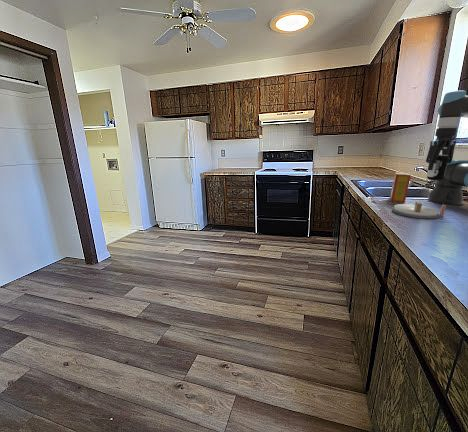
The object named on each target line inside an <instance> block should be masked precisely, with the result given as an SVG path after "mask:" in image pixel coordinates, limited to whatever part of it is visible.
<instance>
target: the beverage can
mask: <svg viewBox="0 0 468 432" xmlns="http://www.w3.org/2000/svg"><path fill="white" fill-rule="evenodd" d="M447 162H448V155H442V154H439V156H438V158H437V160H436V162H435V163H434V164H436V167H435V171H434V176H433V177H427V176H426V179H427V180H429V181H436V180H442V179H443V178H444V174H445V170H446V166H447Z"/></svg>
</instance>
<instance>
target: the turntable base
mask: <svg viewBox="0 0 468 432" xmlns="http://www.w3.org/2000/svg"><path fill="white" fill-rule="evenodd" d="M446 208H447V204H441V208H440V211H439V213H438V215H437V216H431V217H426V216H415V215H409V214H404V213H401V212H398V211H396V210H394V207H393V208H392V213H394V214H396V215H399V216H403V217H405V218H406V217H407V218H410V219H420V220H437V219H439V217H440V218H443V217H444V215H445V211H446Z"/></svg>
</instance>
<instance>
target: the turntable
mask: <svg viewBox="0 0 468 432" xmlns="http://www.w3.org/2000/svg"><path fill="white" fill-rule="evenodd" d="M393 208H394V210H396V211H398V212H401V213H404V214H409V215H415V216H426V217H431V216H437V215H438V214H439V213H440V211H439V210H438V209H436V208H433V207H429V206H425V205H423V204H422V202H421V201H419V200H415V204H411V203H398V204H395V205H394V207H393Z"/></svg>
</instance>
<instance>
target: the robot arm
mask: <svg viewBox="0 0 468 432" xmlns="http://www.w3.org/2000/svg"><path fill="white" fill-rule="evenodd" d="M437 114H438V117H439V118H438V121H437V128H436V129H435V134H434V136H435V137H436V139H435V140H431V141H430V143H429V144H430V145H429V149H428V152H427V156H426V159H425V162H426V163H427V164H428V167H427V173H426V178H427V177H433V176H434V171H435V167H436V164H434V163H435V162H436V160H437V158H438V156H439V155H448V162H447V166H446V170H445V174H444V178H443V179H442V180H435V185H434V187H433V189H432V190H431V192H430V194H429V195H428V197H427V201H429V202H432V203H436V204H441V205H452V206H453V205H454V206H457V205H459V206H461V205H463V204H464V203H463V202H464V197H463V187H465V188H468V159H455V160H454V158H453V157H454V153H455V146H456V144H457V140H453V137H455V136H456V135H457V131H458V128H457V127H458V126H459V123H460V121H461V120H460V119H461V118H467V119H468V95H467V91H466V90H461V89H460V90H452V91H448V92H446V93H445V94H444V97H443V99H442V102H441V104H440V105H439V107H438V109H437Z"/></svg>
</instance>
